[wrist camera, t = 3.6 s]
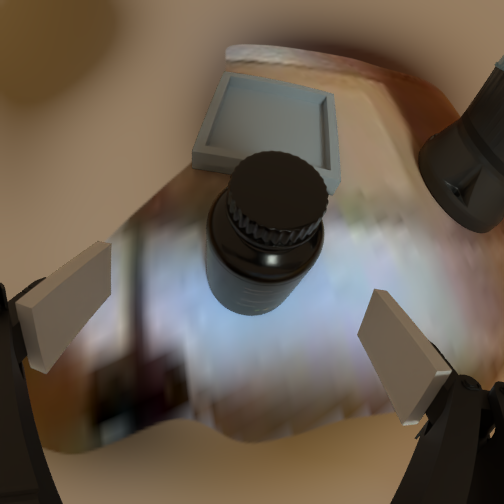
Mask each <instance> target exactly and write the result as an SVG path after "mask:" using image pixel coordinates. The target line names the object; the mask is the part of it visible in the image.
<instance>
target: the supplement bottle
mask: <svg viewBox="0 0 504 504" xmlns="http://www.w3.org/2000/svg"><path fill="white" fill-rule="evenodd" d="M328 195H329V194H328V192H327V186H326V185H325V183H324V179H323V178H322V177H321V176H320V174H319V172H318V171H317V170H315V169H314V167H313V166H312V165H310V164H308V163H307V161H306V160H303V159H301V158H300V157H298V156H295V155H292V154H290V153H284V152H282V151H272V150H271V151H262V152H260V153H254V154H253V155H251V156H247V157H246V158H245V159H244V160H242V161H240V163H239V165H237V166H236V167H235V169H234V172H233V173H232V174H231V176H230V181H229V184H228V187H227V188H225V189H224V190H223V191H222V192H221V193H220V194H219V195H218V196H217V198H216V199H215V200H214V202H213V204H212V206H211V208H210V210H209V213H208V218H207V226H206V251H207V278H208V283H209V286H210V289H211V291H212V293H213V295H214V296H215V298H216V299H217V300H218V301H219V302H220V303H221V304H222V305H223V306H224V307H226V308H227V309H229V310H230V311H233V312H235V313H238V314H241V315H247V316H255V315H262V314H265V313H268V312H270V311H272V310H274V309H275V308H277V307H278V306H279V305H280V304H281V303H282V302H283V301H284V300H285V299H286V298H287V297H288V296H289V295H290V293H291V292H292V291H293V290H294V288H295V287H296V286H297V285H298V284H299V282H300V281H301V280H302V279H303V278H304V276H305V275H306V274H307V273H308V271H309V270H310V269H311V268H312V266H313V265H314V264H315V262H316V260H317V259H318V257H319V255H320V253H321V250H322V247H323V243H324V225H323V221H322V217H323V216H324V214H325V213H326V207H327V205H328V199H327V198H328Z"/></svg>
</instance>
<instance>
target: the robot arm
mask: <svg viewBox="0 0 504 504" xmlns="http://www.w3.org/2000/svg"><path fill="white" fill-rule="evenodd" d="M495 66H496V67H495V68H494V70H493V71H492V73H491V75H490V76H489V78H488V79H487V81H486V82H485V84H484V85H483V87H482V88H481V90H480V91H479V92H478V94H477V95H476V97H475V98H474V100H473V101H472V102H471V104H470V105H469V107H468V108H467V110H466V111H465V112H464V114H463V115H462V116H461V118H460V119H459V120H457V121H456V122H454V123H453V124H451V125H450V126H448V127H447V128H445V129H444V130H443V131H441V132H440V133H437V134H435V135H433V136H431V137H430V138H429V139H428V140H427V142H426V143H425V144H424V146H423V147H422V148H421V150H420V152H419V166H420V170H421V173H422V176H423V178H424V180H425V182H426V184H427V186H428V188H429V190H430V191H431V193H432V194H433V196H434V197H435V199H436V200H437V201H438V203H439V204H440V205H441V206H442V208H443V209H444V210H445V211H446V212H447V213H448V214H449V215H450V216H451V217H452V218H453V219H454V220H456V221H457V222H458V223H459V224H461V225H462V226H464V227H465V228H467V229H469V230H471V231H474V232H477V233H486V232H489V231H490V230H492V229H493V228H494V227H495V226H497V225H498V224H499V223H500V222H501V221H502V219H503V217H504V55H503V56H502V58H501V59H500V61H499V62H496V64H495ZM110 295H111V244H110V243H105V242H99V241H97V242H96V243H95V244H93V245H92V246H90V247H89V248H87V249H86V250H84V251H83V252H82V253H80V254H79V255H77V256H76V257H75V258H73V259H72V260H70V261H69V262H67V263H66V264H65V265H63V266H62V267H61V268H59V269H58V270H56V271H55V272H54V273H52V274H51V275H50V276H48V277H47V278H46V277H44V278H42V279H39V280H37V281H34V282H33V283H32V284H30V285H29V286H28V288H27V287H26V288H25V289H24V290H22V292H20V293H18V294H17V295H16V296H15V297H13V298H12V299H11V300H10V301H8V302H7V297H6V291H5V287H4V285H3V284H2V283H0V504H63V503H62V501H61V498H60V496H59V494H58V491H57V489H56V486H55V484H54V481H53V479H52V476H51V473H50V470H49V468H48V465H47V462H46V459H45V456H44V453H43V449H42V446H41V443H40V439H39V436H38V432H37V429H36V425H35V421H34V417H33V413H32V408H31V404H30V399H29V394H28V389H27V384H26V378H25V372H24V367H23V363H22V360H23V359H24V358H25V357H26V356H27V357H28V360H29V364H30V367H31V368H33V369H35V370H38V371H40V372H43V373H45V374H47V373H48V371H49V370H50V369H51V367H52V366H53V365H54V363H55V362H56V361H57V359H58V358H59V357H60V356H61V354H62V353H63V352H64V350H65V349H66V348H67V347H68V345H69V344H70V343H71V342H72V340H73V339H74V338H75V337H76V335H77V334H78V333H79V332H80V330H81V329H82V328H83V327H84V326H85V324H86V323H87V322H88V321H89V319H90V318H91V317H92V316H93V315H94V313H95V312H96V311H97V310H98V309H99V308H100V306H101V305H102V304H103V303H104V302H105V301H106V299H107V298H108V297H109V296H110ZM357 335H358V337H359V339H360V341H361V343H362V345H363V347H364V349H365V351H366V353H367V354H368V356H369V358H370V360H371V362H372V364H373V366H374V368H375V370H376V372H377V374H378V376H379V378H380V380H381V382H382V384H383V386H384V388H385V390H386V392H387V394H388V396H389V398H390V400H391V403H392V405H393V407H394V409H395V411H396V413H397V415H398V417H399V419H400V421H401V424H402V425H412V424H418V422H419V421H420V420H421V418H422V417H423V415H424V414H425V413H426V415H427V417H428V419H429V420H428V421H427V422H426V424H425V425H424V426H423V428H422V429H421V431H420V432H419V433H418V434H417V436H416V437H415V439H417V438H418V437H419V436H420V438H419V441H418V443H417V446H416V449H415V451H414V453H413V456H412V458H411V461H410V463H409V465H408V468H407V470H406V472H405V475H404V477H403V479H402V481H401V483H400V485H399V487H398V489H397V491H396V493H395V495H394V497H393V499H392V501H391V503H390V504H504V382H499V381H498V382H496V383H495V384H494V386H493V387H492V389H491V390H490V391H487V390H482V388H481V386H480V384H479V383H478V382H477V381H476V380H475V379H474V378H472V377H470V376H467V375H458V374H457V372H456V371H455V370H454V369H453V367H452V366H451V365H450V363H449V362H448V361H447V360H446V359H445V357H444V356H443V354H441V352H440V351H439V349H438V348H437V347H436V346H435V345H434V344H433V343H431V342H430V341H429V340H428V339H427V338H426V337H425V336H424V334H423V333H422V332H421V331H420V329H419V328H418V327H417V326H416V325H415V323H414V322H413V321H412V320H411V319H410V317H409V316H408V315H407V314H406V313H405V311H404V310H403V309H402V308H401V307H400V306H399V304H398V303H397V302H396V301H395V300H394V299H393V297H392V296H391V295H390V294H389V293H388V292H387V291H384V290H378V289H374V291H373V294H372V297H371V300H370V302H369V305H368V308H367V310H366V313H365V316H364V318H363V321H362V324H361V326H360V329H359V331H358V334H357ZM494 428H495V433H494V434H493V436H492V438H490V433H491V432H492V430H493V429H494Z"/></svg>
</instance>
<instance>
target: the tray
mask: <svg viewBox="0 0 504 504" xmlns="http://www.w3.org/2000/svg"><path fill="white" fill-rule="evenodd" d="M271 150H272V151H282V152H284V153H290V154H292V155H295V156H298V157H300V158H301V159H303V160H306V161H307V163H308V164H310V165H312V166H313V167H314V169H315V170H317V171H318V172H319V174H320V176H321V177H322V178H323V179H324V183H325V185H326V186H327V192H328V194H329V195H333V194H334V192H335V190H336V189H337V187H338V185H339V183H340V182H341V171H340V156H339V143H338V131H337V120H336V110H335V101H334V94H332V93H328V92H325V91H321V90H317V89H313V88H309V87H305V86H301V85H297V84H292V83H288V82H283V81H279V80H274V79H269V78H263V77H258V76H252V75H246V74H240V73H233V72H226V71H224V73H223V75H222V77H221V80H220V82H219V84H218V87H217V89H216V91H215V94H214V96H213V99H212V101H211V104H210V106H209V108H208V111H207V113H206V116H205V118H204V121H203V123H202V126H201V129H200V131H199V134H198V136H197V139H196V142H195V144H194V147H193V150H192V168H194V169H200V170H207V171H213V172H219V173H225V174H232V173H233V172H234V169H235V167H236V166H237V165H239V163H240V161H242V160H244V159H245V158H246V157H247V156H251V155H253V154H254V153H260V152H262V151H271Z"/></svg>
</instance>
